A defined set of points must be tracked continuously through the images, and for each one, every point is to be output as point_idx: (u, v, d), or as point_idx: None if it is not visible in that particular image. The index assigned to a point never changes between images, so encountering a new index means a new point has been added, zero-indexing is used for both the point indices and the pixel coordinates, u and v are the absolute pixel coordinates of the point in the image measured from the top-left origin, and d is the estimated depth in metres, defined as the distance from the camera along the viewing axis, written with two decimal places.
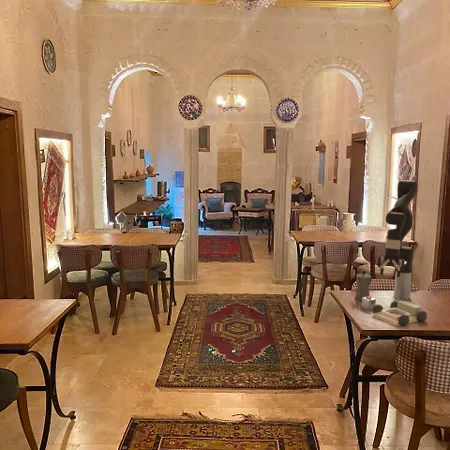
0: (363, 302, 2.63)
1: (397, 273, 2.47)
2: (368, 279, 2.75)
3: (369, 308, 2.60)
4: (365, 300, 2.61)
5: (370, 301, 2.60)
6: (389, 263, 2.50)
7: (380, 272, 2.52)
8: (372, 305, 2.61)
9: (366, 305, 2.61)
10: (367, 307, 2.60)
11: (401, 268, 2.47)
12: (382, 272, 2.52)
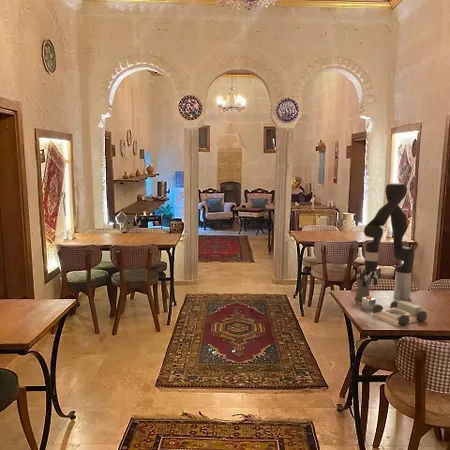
0: (363, 302, 2.63)
1: (376, 282, 2.62)
2: (368, 279, 2.75)
3: (369, 308, 2.60)
4: (365, 300, 2.61)
5: (370, 301, 2.60)
6: (370, 274, 2.59)
7: (364, 285, 2.58)
8: (372, 305, 2.61)
9: (366, 305, 2.61)
10: (367, 307, 2.60)
11: (378, 276, 2.63)
12: None
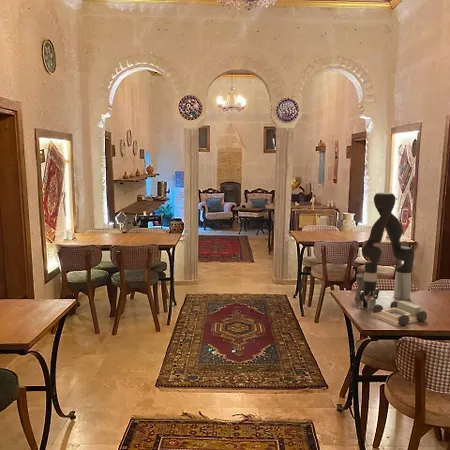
0: None
1: None
2: None
3: (369, 308, 2.60)
4: None
5: (370, 301, 2.59)
6: (370, 294, 2.61)
7: (364, 305, 2.61)
8: (372, 305, 2.61)
9: None
10: (367, 307, 2.60)
11: (375, 297, 2.64)
12: (366, 305, 2.61)
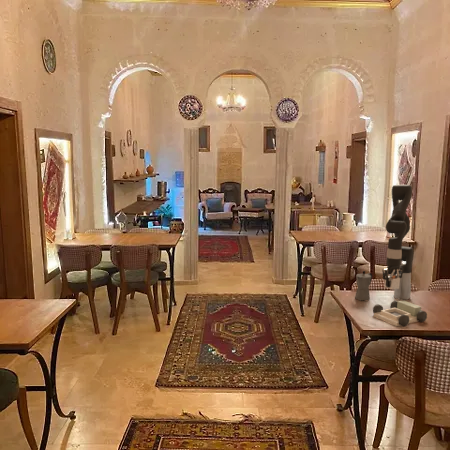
0: None
1: None
2: (368, 279, 2.75)
3: (393, 287, 2.43)
4: None
5: (394, 280, 2.42)
6: (394, 272, 2.44)
7: (387, 285, 2.43)
8: (396, 284, 2.43)
9: None
10: (390, 286, 2.43)
11: (399, 276, 2.47)
12: None
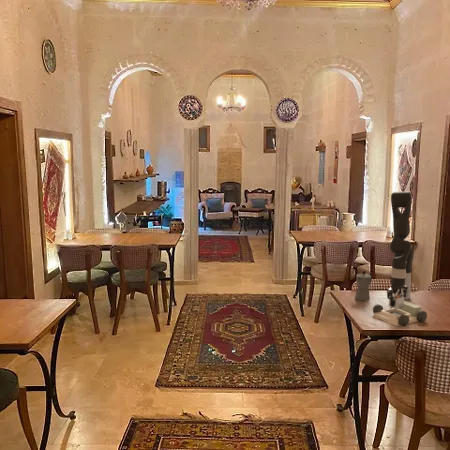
0: None
1: None
2: (368, 279, 2.75)
3: (397, 307, 2.41)
4: None
5: (398, 299, 2.41)
6: (398, 292, 2.42)
7: (392, 304, 2.42)
8: (400, 304, 2.42)
9: None
10: (395, 306, 2.42)
11: (403, 295, 2.45)
12: None
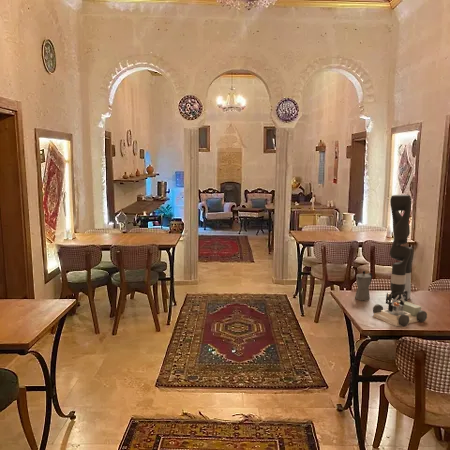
0: None
1: None
2: (368, 279, 2.75)
3: (397, 315, 2.42)
4: None
5: (398, 308, 2.42)
6: (397, 298, 2.43)
7: (390, 309, 2.42)
8: (400, 312, 2.43)
9: (393, 312, 2.43)
10: (395, 314, 2.42)
11: (404, 299, 2.46)
12: (392, 309, 2.42)
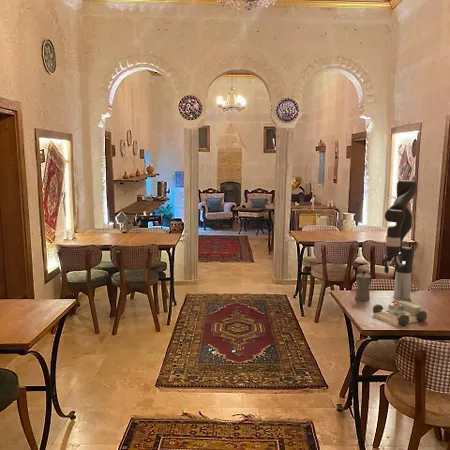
0: (391, 309, 2.45)
1: (398, 267, 2.55)
2: (368, 279, 2.75)
3: (397, 315, 2.42)
4: (392, 307, 2.44)
5: (398, 308, 2.42)
6: (393, 260, 2.52)
7: (386, 271, 2.52)
8: (400, 312, 2.43)
9: (393, 312, 2.43)
10: (395, 314, 2.42)
11: (400, 261, 2.56)
12: (388, 270, 2.52)
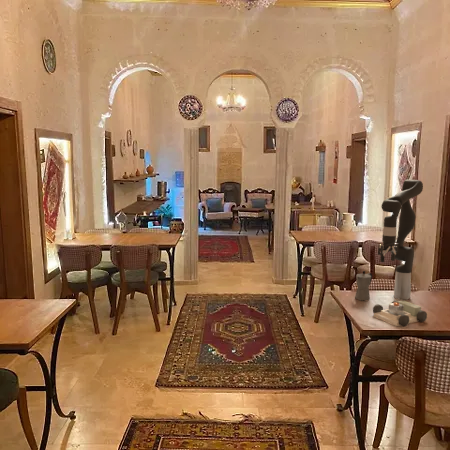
0: (391, 309, 2.45)
1: (394, 257, 2.62)
2: (368, 279, 2.75)
3: (397, 315, 2.42)
4: (392, 307, 2.44)
5: (398, 308, 2.42)
6: (389, 249, 2.59)
7: (382, 260, 2.58)
8: (400, 312, 2.43)
9: (393, 312, 2.43)
10: (395, 314, 2.42)
11: (396, 251, 2.62)
12: None
